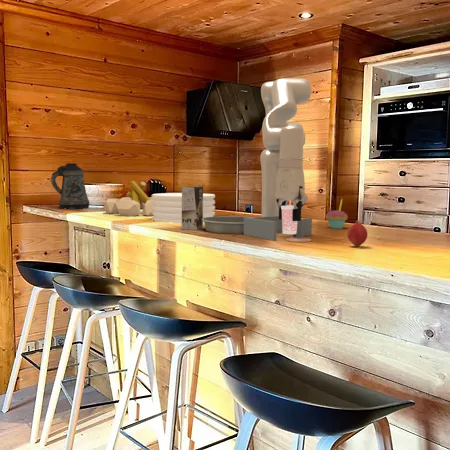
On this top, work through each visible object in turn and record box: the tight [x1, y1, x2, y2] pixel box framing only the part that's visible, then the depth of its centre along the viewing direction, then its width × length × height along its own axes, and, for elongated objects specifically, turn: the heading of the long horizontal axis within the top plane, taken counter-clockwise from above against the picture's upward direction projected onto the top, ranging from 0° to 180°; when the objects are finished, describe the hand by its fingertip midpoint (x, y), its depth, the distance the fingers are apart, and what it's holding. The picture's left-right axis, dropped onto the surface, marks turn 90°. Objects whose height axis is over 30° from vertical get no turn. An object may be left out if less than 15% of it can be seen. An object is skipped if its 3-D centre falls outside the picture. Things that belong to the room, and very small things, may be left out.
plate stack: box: [151, 192, 216, 224], centre depth 231 cm, size 28×28×12 cm
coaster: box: [285, 236, 312, 243], centre depth 167 cm, size 8×8×1 cm
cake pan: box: [202, 215, 250, 235], centre depth 194 cm, size 25×25×4 cm
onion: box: [347, 219, 368, 248], centre depth 155 cm, size 6×6×8 cm
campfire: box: [102, 179, 154, 217], centre depth 260 cm, size 35×34×17 cm
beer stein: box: [50, 162, 90, 210], centre depth 287 cm, size 16×19×25 cm
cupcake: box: [325, 199, 349, 230], centre depth 204 cm, size 9×8×12 cm
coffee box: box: [181, 186, 204, 231], centre depth 197 cm, size 9×6×16 cm
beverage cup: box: [281, 200, 297, 235], centre depth 170 cm, size 6×6×14 cm
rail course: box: [243, 216, 313, 241], centre depth 179 cm, size 20×16×6 cm
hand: (289, 219), depth 170 cm, fingers closed on beverage cup, 6 cm apart
